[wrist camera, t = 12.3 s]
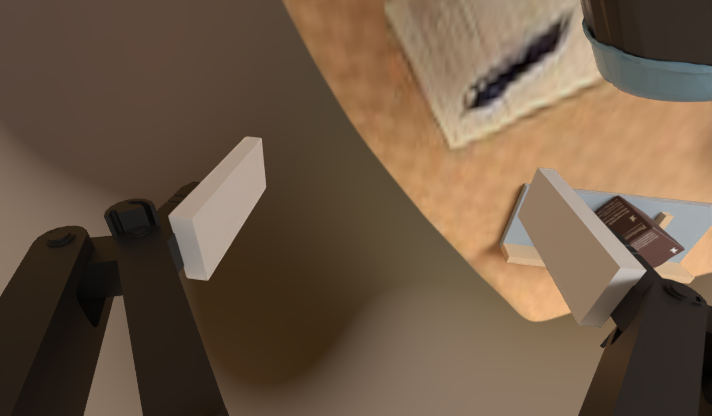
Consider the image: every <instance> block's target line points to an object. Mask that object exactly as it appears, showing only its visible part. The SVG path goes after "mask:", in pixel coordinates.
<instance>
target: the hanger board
mask: <svg viewBox="0 0 712 416" xmlns="http://www.w3.org/2000/svg"><path fill="white" fill-rule="evenodd" d="M530 185H531V184H524V186H523V188H522V191H521V193H520V196H519V198H518V200H517V203H516V205H515V207H514V210H513V212H512V215H511V217H510V219H509V222H508V224H507V226H506V229H505V231H504V234H503V236H502V238H501V241H500V243H499V246H500V249H501V251H502V253H503V256H504V258H505V260H506V262H507V263H515V264H524V265H533V266H541V267H546V266H545V264H544V262H543V261H542V259H541V257H540V255H539V253H538V252H537V250H536V248H535V246H534V244H533V243H532V241H531V239H530V237H529V236H528V234H527V232H526V230H525V228H524V227H523V225H522V223H521V221H520V219H519V218H518V216H517V215H518V212H519V210H520V208H521V205H522V203H523V201H524V198H525V196H526V194H527V192H528V189H529V187H530ZM573 190H574V191H575V192H576V193H577V195H578V196H579V197H580V198H581V199H582V200H583V201H584V202H585V203H586V204H587V206H588V207H589V208H590V209H591V210H592V211H593V212H595V211H596V210H597V209H599V208H600V207H602V206H603V205H604V204H606V203H607V202H608V201H610V200H611V199H612V198H614V197H615V196H617V195H619V196H621V197H622V198H624V199H625V200H627V201H628V202H630V203H631V204H632V205H634V206H635V207H637V208H638V209H640V210H641V211H643V212H644V213H645V214H647V215H648V216H649V217H650V218H651V219H653V220H654V221H655V222H656V223H657V224H658V225H659V226H660V227H661V228H662V229H663V230H664V231H666V232H667V233H668V234H669V235H670V236H671V237H672V238H674V239H675V240H676V241H677V242H678V243H679V244H680V245H682V246H683V247H684V248H685V250H684V251H682V252H680V253H679V254H677V255H675V256H674V257H672V258H670V259H669V260H667V261H666V262H665V263H663V264H662V265H660V266H658V267H656V268H654V270H655V271H656V272H657V273H658V274H659V275H660V276H661V277H662V278H666V279H671V280H674V281H677V282H680V283H690V282H691V281H692V280H693V279H694V278H695V277H694V276H693V275H692V274H690V273H689V272H688V271H687V270H686V269H685V268H684V267H683V266H682V265H681V264H680V261H681V260H682V259H683V258H684V257H685V256H686V254H687V253H688V252H689V251H690V250H691V249H692V248H693V246H694V245H695V244H696V243H697V242H698V241H699V239H700V238H701V237H702V236H703V235H704V234H705V232H706V231H707V230H708V229H709V228H710V227H711V225H712V204H711V203H701V202H692V201H683V200H674V199H664V198H655V197H646V196H636V195H627V194H618V193H609V192H599V191H590V190H581V189H573Z"/></svg>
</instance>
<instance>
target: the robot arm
mask: <svg viewBox="0 0 712 416" xmlns="http://www.w3.org/2000/svg"><path fill="white" fill-rule="evenodd" d="M581 5H582V10H583V15H584V18H583V22H582V25H583V30H584V33H585V35H586V37H587V38H588V40H589V41H590V42H591V45H592V49H593V53H594V56H595V60H596V64H597V67H598V70H599V72H600V73H601V75H602V76H603V78H604V79H605V80H606V81H608V82H610V83H612V84H613V85H614V86H615V87H617V88H618V89H619V90H621V91H623V92H625V93H628V94H631V95H634V96H638V97H642V98H647V99H653V100H661V101H673V102H706V101H712V0H581ZM265 188H266V181H265V170H264V159H263V148H262V138H255V137H245V138H244V139H243V140H242V141H241V142H240V143H239V144H238V145H237V146H236V147H235V148H234V149H233V150H232V151H231V152H230V153H229V154H228V155H227V156H226V157H225V158H224V159H223V160H222V161H221V163H219V164H218V165H217V166H216V167H215V169H214V170H213V171H212V172H211V173H210V174H209V175H208V176H207V177H206V178H205V179H204V180H203V181H202V182H192V183H190V184H187V185H185V186H183V187H181V188H180V189H179V190H178V191H177V192H176V193H175V194H174V196H172V197H171V198H170V199H169V200H168V202H166V203H165V204H164V205H163V206H161V208H159V209H158V210H157V211H156V209H155V206H154V204H153V203H152V202H151V201H149V200H146V199H130V200H125V201H123V202H119V203H117V204H115V205H113V206H111V207H110V208H109V209H108V210H106V212H105V214H104V217H105V220H106V222H107V224H108V227H109V229H110V231H111V234H112V236H103V237H92V238H90V236H89V234H88V232H87V230H85V229H84V228H83V227H80V226H65V227H60V228H56V229H54V230H50V231H48V232H46V233H44V234H43V235H41V236H39V237H38V238H37V239H36V240H35V241H34V242H33V244H32V245H31V247H30V248H29V250H28V252H27V254H26V255H25V257H24V259H23V260H22V262H21V263H20V265H19V267H18V268H17V270H16V272H15V273H14V275H13V277H12V278H11V280H10V281H9V283H8V285H7V287H6V288H5V290H4V291H3V293H2V295H1V296H0V416H83V415H84V411H85V407H86V404H87V400H88V396H89V392H90V388H91V384H92V380H93V376H94V372H95V369H96V365H97V361H98V357H99V353H100V349H101V345H102V341H103V338H104V333H105V330H106V325H107V322H108V318H109V314H110V310H111V306H112V302H113V299H114V296H121V295H123V298H124V304H125V310H126V316H127V322H128V328H129V334H130V340H131V346H132V352H133V358H134V364H135V370H136V376H137V382H138V388H139V394H140V400H141V406H142V412H143V416H229V415H228V412H227V409H226V407H225V405H224V402H223V399H222V396H221V394H220V391H219V388H218V385H217V382H216V379H215V377H214V374H213V371H212V368H211V365H210V362H209V360H208V357H207V354H206V351H205V348H204V346H203V343H202V340H201V338H200V334H199V331H198V329H197V326H196V323H195V320H194V317H193V315H192V312H191V309H190V306H189V303H188V300H187V298H186V295H185V292H184V289H183V286H182V283H181V280H180V278H179V275H178V273H179V272H180V270H181V269H182V267H183V266H184V269H185V273H186V276H187V278H192V279H200V280H208V279H209V278H210V276H211V275H212V273H213V272H214V270H215V268H216V267H217V265H218V263H219V262H220V260H221V259H222V257H223V256H224V254H225V252H226V251H227V249H228V248H229V246H230V244H231V243H232V241H233V240H234V238H235V236H236V234H237V233H238V232H239V230H240V228H241V227H242V225H243V224H244V222H245V220H246V219H247V217H248V216H249V214H250V212H251V211H252V209H253V208H254V206H255V204H256V203H257V201H258V200H259V198H260V196H261V195H262V193H263V192H264V190H265ZM517 216H518V218H519V219H520V221H521V223H522V225H523V227H524V228H525V230H526V232H527V234H528V236H529V237H530V239H531V241H532V243H533V244H534V246H535V248H536V250H537V252H538V253H539V255H540V257H541V259H542V261H543V262H544V264H545V266H546V268H547V269H548V271H549V273H550V275H551V277H552V278H553V280H554V282H555V284H556V286H557V287H558V289H559V291H560V293H561V295H562V296H563V298H564V300H565V302H566V303H567V305H568V307H569V309H570V311H571V312H572V314H573V316H574V318H575V319H576V321H577V323H578V325H583V326H591V327H599V328H601V327H602V326H603V325H604V323H605V322H606V321H607V319H608V318H609V317H610V316H611V317H612V319H613V320H614V322H615V323H616V325H617V326H616V327H615V329H614V330H613V331H612V332H611V333H610V335H609V336H608V337H607V338H606V339H605V340H604V342H603V343H602V344H601V345H600V346H601V347H602V348H604V347H605V346H606V347H605V349H604V352H603V354H602V357H601V359H600V362H599V364H598V367H597V370H596V372H595V374H594V377H593V379H592V382H591V385H590V387H589V390H588V392H587V395H586V397H585V400H584V402H583V405H582V407H581V410H580V412H579V415H578V416H712V306H709V305H707V302H706V301H705V300H704V299H703V297H701V295H699V294H698V293H697V292H696V291H694V290H693V289H691V288H690V287H688V286H686V285H684V284H682V283H680V282H677V281H674V280H671V279H666V278H662V277H661V276H660V275H659V274H658V273H657V272H656V271H655V270H654V268H653V267H652V266H651V265H650V264H649V263H648V262H647V261H646V260H645V259H644V258H643V257H642V256H641V255H639V254H638V251H637V250H636V249H635V248H634V247H631V244H630V243H629V242H628V241H627V240H626V239H625V238H624V237H623V236H622V235H621V234H619V233H618V232H616V231H615V230H613V229H612V228H610V227H607V226H606V225H605V224H604V223H603V222H602V221H601V220H600V219H599V218H598V217H597V215H596V214H595V213H594V212H593V211H592V210H591V209H590V208H589V207H588V206H587V204H586V203H585V202H584V201H583V200H582V199H581V198H580V197H579V196H578V195H577V193H576V192H575V191H574V190H573V189H572V188H571V187H570V186H569V185H568V184H567V182H566V181H565V180H564V179H563V178H562V177H561V176H560V175H559V174H558V173H557V171H556V170H555V169H548V168H537V171H536V173H535V175H534V178H533V180H532V182H531V185H530V187H529V189H528V192H527V194H526V196H525V198H524V201H523V203H522V205H521V208H520V210H519V212H518V215H517Z"/></svg>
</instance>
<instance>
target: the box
mask: <svg viewBox="0 0 712 416" xmlns="http://www.w3.org/2000/svg"><path fill="white" fill-rule="evenodd" d="M594 213H595V214H596V215H597V217H598V218H599V219H600V220H601V221H602V222H603V223H604V224H605V225H606V226H607V227H610V228H612V229H613V230H615V231H616V232H618V233H619V234H621V235H622V236H623V237H624V238H625V239H626V240H627V241H628V242H629V243H630V244H631V247H634V248H635V249H636V250H637V251H638V254H639V255H641V256H642V257H643V258H644V259H645V260H646V261H647V262H648V263H649V264H650V265H651V266H652V267H653V268H656V267H658V266H660V265H662V264H663V263H665V262H666V261H667V260H669V259H670V258H672V257H674V256H675V255H677V254H679V253H680V252H682V251H684V250H685V248H684V247H683V246H682V245H680V244H679V243H678V242H677V241H676V240H675V239H674V238H672V237H671V236H670V235H669V234H668V233H667V232H666V231H664V230H663V229H662V228H661V227H660V226H659V225H658V224H657V223H656V222H655V221H654V220H653V219H651V218H650V217H649V216H648V215H647V214H645V213H644V212H643V211H641V210H640V209H638V208H637V207H635V206H634V205H632V204H631V203H630V202H628V201H627V200H625V199H624V198H622V197H621V196H619V195H617V196H615V197H614V198H612V199H611V200H610V201H608V202H607V203H606V204H604V205H603V206H602V207H600V208H599V209H597V210H596V211H595V212H594Z"/></svg>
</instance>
